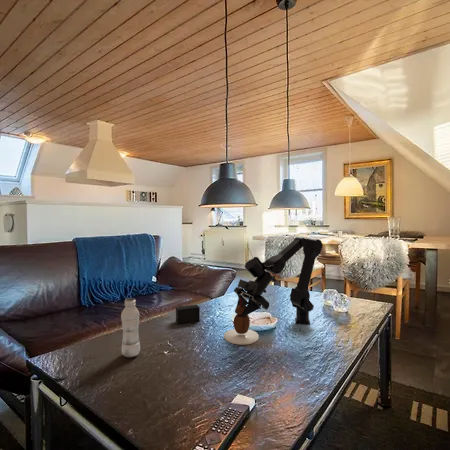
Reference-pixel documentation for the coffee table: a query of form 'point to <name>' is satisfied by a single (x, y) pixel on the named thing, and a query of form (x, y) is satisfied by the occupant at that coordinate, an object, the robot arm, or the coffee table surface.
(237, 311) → the wooden figurine
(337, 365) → the coffee table surface
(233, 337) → the ceramic plate
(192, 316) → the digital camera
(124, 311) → the plastic bottle
